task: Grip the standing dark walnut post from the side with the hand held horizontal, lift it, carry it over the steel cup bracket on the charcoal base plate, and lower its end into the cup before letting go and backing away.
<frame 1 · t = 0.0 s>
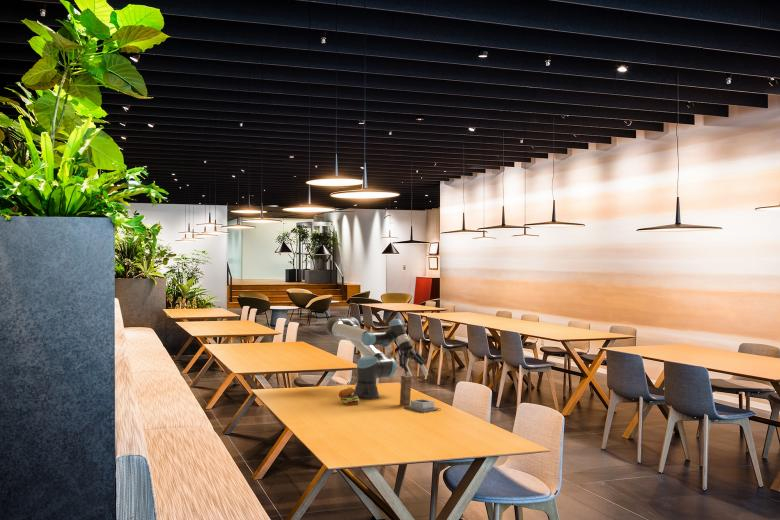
hand: (418, 376, 380), 15 cm above the table, fingers open, 13 cm apart
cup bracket: (422, 409, 362), on the table
cheeseburger: (348, 404, 368), on the table
walnut post: (404, 404, 372), on the table
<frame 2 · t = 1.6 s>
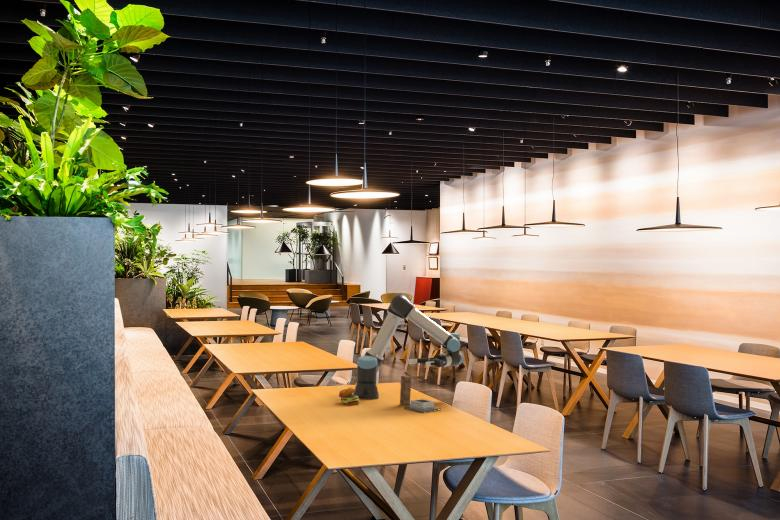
hand: (417, 363, 379), 23 cm above the table, fingers open, 13 cm apart
nothing on the table moved.
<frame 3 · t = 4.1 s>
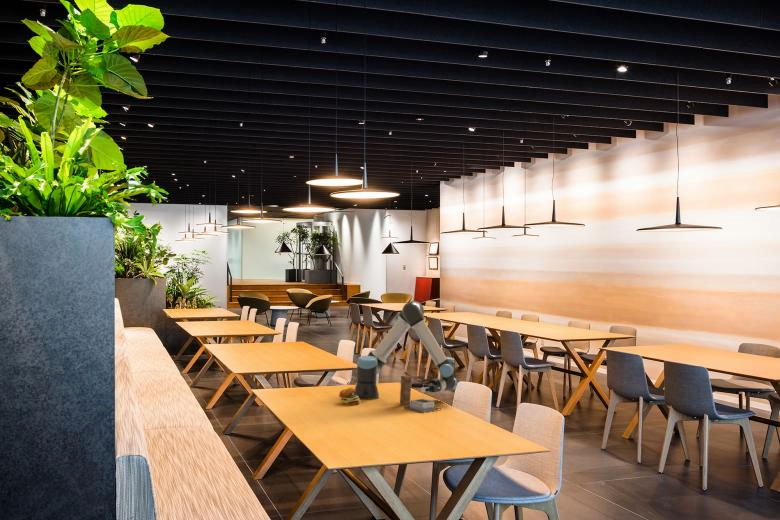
hand: (411, 388, 375), 9 cm above the table, fingers open, 13 cm apart
nothing on the table moved.
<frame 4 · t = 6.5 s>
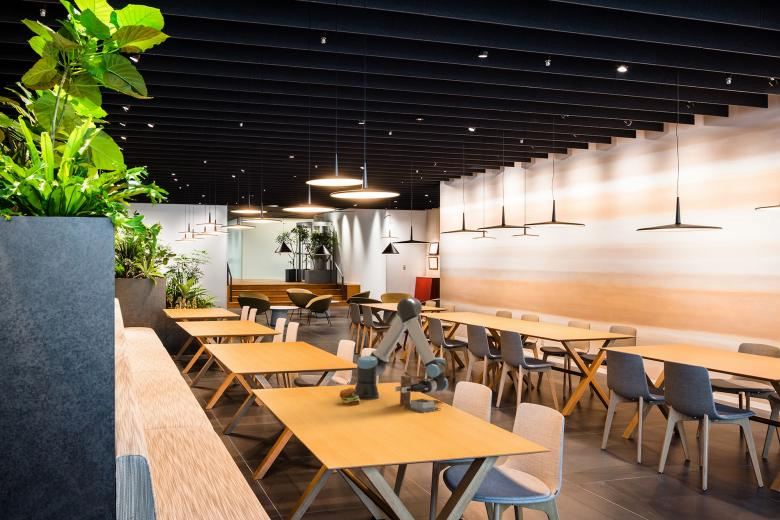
hand: (398, 389, 369), 9 cm above the table, fingers closed on walnut post, 4 cm apart
walnut post: (404, 404, 372), on the table, touching gripper
everything else where it was.
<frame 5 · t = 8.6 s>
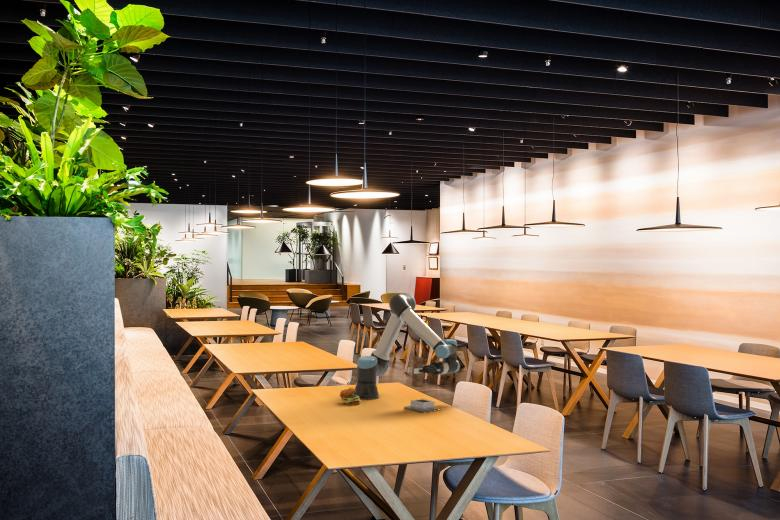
hand: (411, 370, 363), 20 cm above the table, fingers closed on walnut post, 4 cm apart
walnut post: (417, 386, 367), point 11 cm above the table, touching gripper
everything else where it was.
when the fingers open (12 cm above the table, at t = 11.2 s): walnut post drops 2 cm, resting on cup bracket.
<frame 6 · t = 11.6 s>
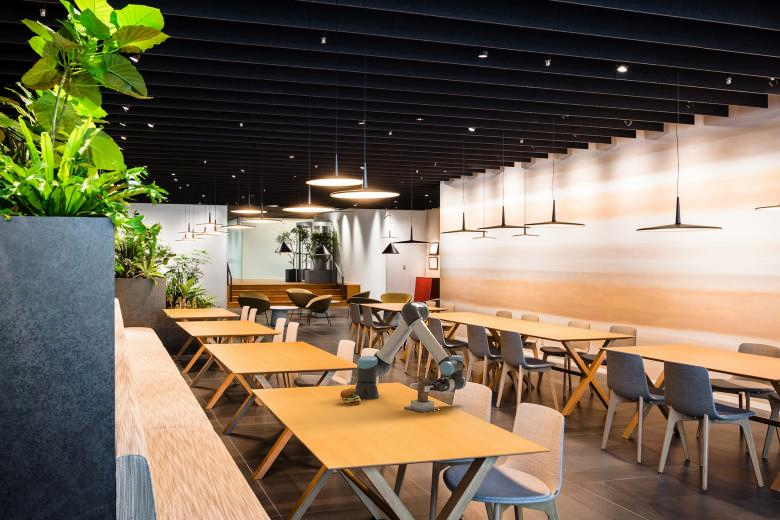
hand: (417, 387, 359), 12 cm above the table, fingers open, 10 cm apart
walnut post: (422, 407, 362), point 1 cm above the table, touching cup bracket
everything else where it was.
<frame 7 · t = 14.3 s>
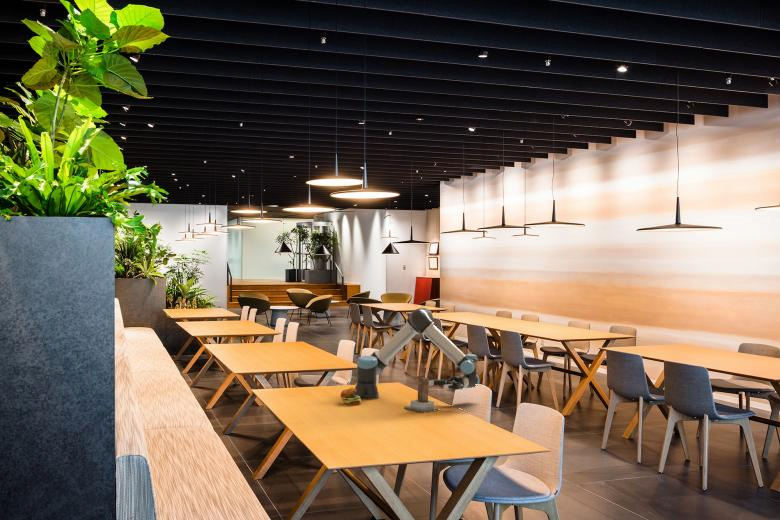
hand: (434, 385, 369), 12 cm above the table, fingers open, 13 cm apart
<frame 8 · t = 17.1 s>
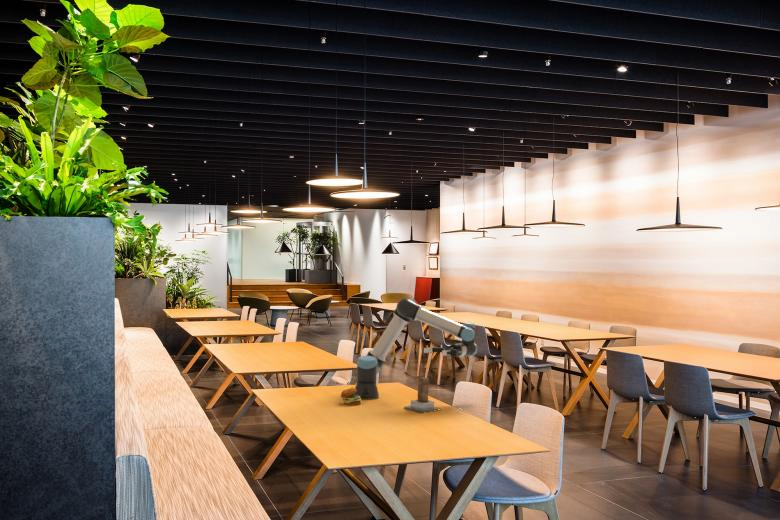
hand: (433, 351, 375), 30 cm above the table, fingers open, 13 cm apart
at the end: walnut post 0.0 cm off-centre on the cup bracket, point 1.0 cm above the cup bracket's base; walnut post tilted 0°; the gripper is holding nothing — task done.
